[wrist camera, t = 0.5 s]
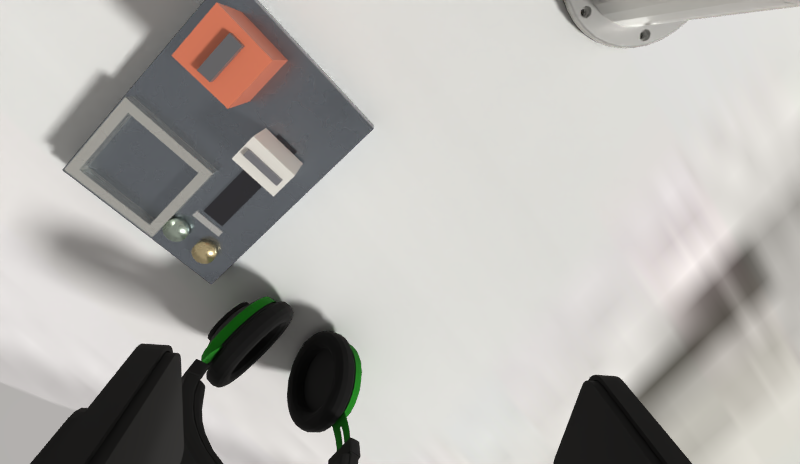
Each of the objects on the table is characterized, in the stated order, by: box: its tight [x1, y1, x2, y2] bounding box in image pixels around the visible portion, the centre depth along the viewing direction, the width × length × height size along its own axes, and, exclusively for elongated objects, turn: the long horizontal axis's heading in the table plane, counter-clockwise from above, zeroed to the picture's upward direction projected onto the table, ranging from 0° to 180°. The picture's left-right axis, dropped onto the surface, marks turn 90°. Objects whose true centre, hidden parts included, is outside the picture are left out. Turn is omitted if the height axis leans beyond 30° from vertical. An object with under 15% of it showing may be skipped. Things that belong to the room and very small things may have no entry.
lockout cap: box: [171, 2, 288, 109], centre depth 29 cm, size 4×4×6 cm
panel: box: [63, 0, 374, 284], centre depth 35 cm, size 21×15×3 cm
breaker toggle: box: [232, 128, 303, 197], centre depth 33 cm, size 2×4×4 cm, turn 42°
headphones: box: [180, 297, 362, 464], centre depth 35 cm, size 9×16×20 cm, turn 52°
